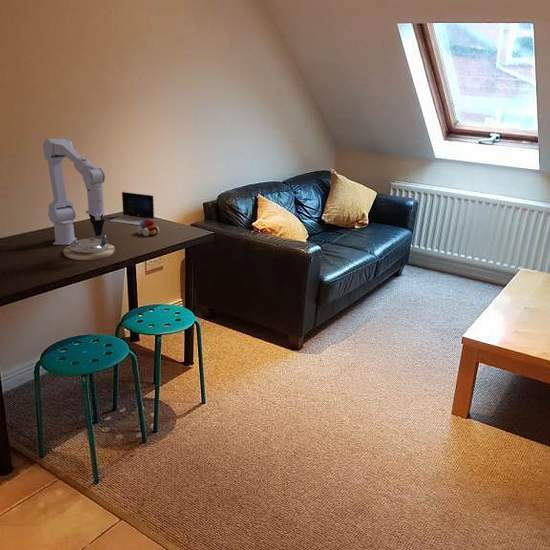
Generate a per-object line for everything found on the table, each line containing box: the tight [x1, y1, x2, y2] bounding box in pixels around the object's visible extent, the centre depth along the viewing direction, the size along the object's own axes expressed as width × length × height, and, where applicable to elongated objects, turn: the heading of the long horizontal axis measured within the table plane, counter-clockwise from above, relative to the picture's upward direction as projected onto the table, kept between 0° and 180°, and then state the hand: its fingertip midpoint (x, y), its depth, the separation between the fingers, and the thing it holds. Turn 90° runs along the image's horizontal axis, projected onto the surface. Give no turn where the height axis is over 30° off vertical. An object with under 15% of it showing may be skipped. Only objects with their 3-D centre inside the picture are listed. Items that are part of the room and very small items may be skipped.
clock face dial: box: [68, 234, 109, 254], centre depth 224 cm, size 15×15×6 cm
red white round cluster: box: [136, 218, 160, 237], centre depth 253 cm, size 8×10×7 cm
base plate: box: [63, 243, 116, 261], centre depth 225 cm, size 20×20×2 cm
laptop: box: [109, 191, 155, 226], centre depth 273 cm, size 18×12×13 cm
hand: (97, 233), depth 219 cm, fingers open, 6 cm apart
